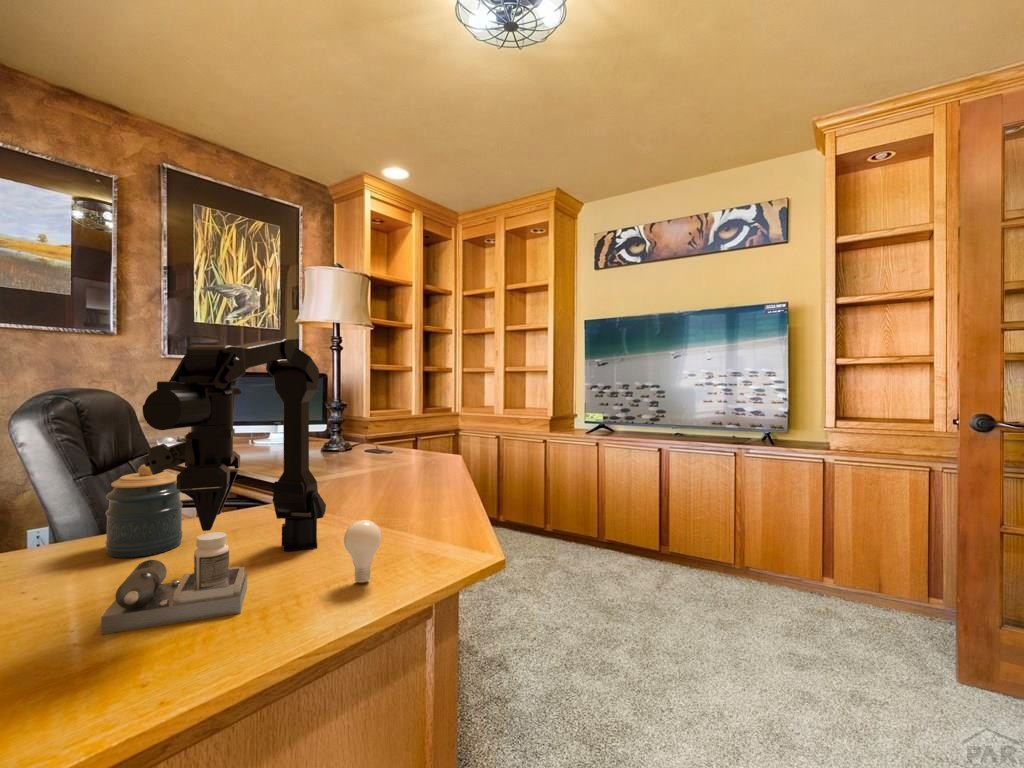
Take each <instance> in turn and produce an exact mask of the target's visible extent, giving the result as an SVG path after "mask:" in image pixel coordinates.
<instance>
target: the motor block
mask: <svg viewBox="0 0 1024 768" xmlns="http://www.w3.org/2000/svg"><path fill="white" fill-rule="evenodd" d="M167 573H168V571H167V567H166V565H165V564H164V563H163V562H162V561H160V560H157V559H148V560H145V561H142V562H141V563H139V564H138V565H136V567H135V568H134V569H133V571H132V572H131V573H130V574H129V575H128V576H127V577H126V578H125V580H124V581H122V583H121V584H120V585H119V587H117V589H116V591H115V599H114V601H113V602H112V603H111V605H110V606H109V607H108V608H107V609H106V610H105V612H104V613H103V614H102V615H101V616H100V622H101V623H100V624H101V625H100V628H101V629H100V634H101V636H102V635H107V634H109V635H110V634H113V633H114V634H115V633H120V632H127V631H134V630H140V629H141V630H142V629H146V628H152V627H161V626H166V625H173V624H179V623H185V622H192V621H199V620H206V619H212V618H219V617H225V616H226V617H227V616H233V615H239V614H241V611H242V608H243V605H244V601H245V596H246V592H247V590H248V573H247V572H246V566H242V567H241V566H235V567H229V585H226V586H218V587H211V588H203V589H196V590H194V571H193V572H192V571H191V573H185V574H184V575H183V577H182V578H181V579H174V580H172V581H171V582H167V583H163V582H164V580H165V579H166V577H167Z"/></svg>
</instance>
